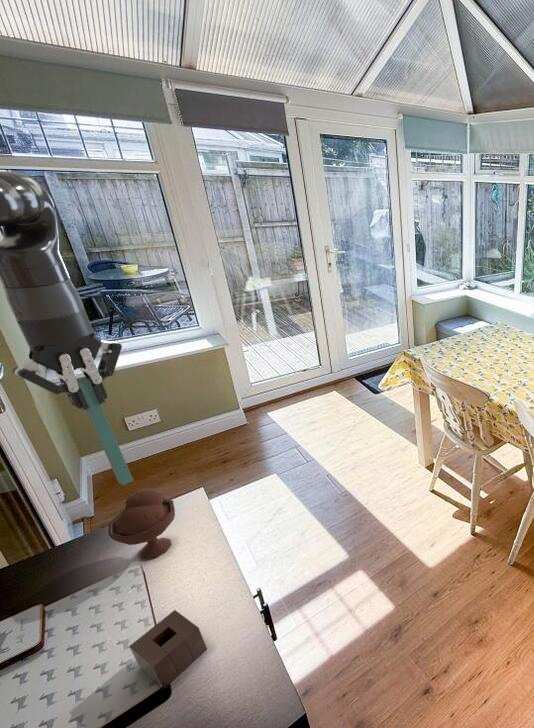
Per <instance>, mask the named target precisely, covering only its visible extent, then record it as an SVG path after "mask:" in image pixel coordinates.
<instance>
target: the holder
mask: <svg viewBox="0 0 534 728" xmlns="http://www.w3.org/2000/svg"><path fill="white" fill-rule="evenodd" d="M128 647H129V649H130V651H131V653H132V655H133V657H134V658H135V660H136V663H137V664H138V666H139V668H140V669H141V671H143V672H144V673H145V674H146V675H147V676H148V677H150V678H151V679H152V680H153V681H154V682H155V683H157V684H158V685H159V686H160V687H161V688H162V689H163V690H164V689H166V688H167V687H168V686H169V685H170V684H171V683H172V682H173V681H175V680H176V679H177V678H178V677H179V676H180V675H181V674H182V673H184V671H186V669H187V668H189V667H190V666H191V665H192V664H193V663H194V662H195V661H196V660H197V659H199V657H200V656H202V655H203V654H204V653H205V652H206V651H207V650H208V647H207V645H206V642H205V640H204V637H203V635H202V632H201V630H200V627H199V626H197V625H196V624H195V623H193V621H190V619H188V618H187V617H185V616H184V615H182V614H181V613H180V612H178V611H177V610H176V609H174V610H173V611H171V612H170V613H169V614H167V615H166V616H165V617H163V619H161V620H160V621H159V622H158V623H156V624H155V625H154V626H152V627H151V628H150V629H149V630H148V631H146V632H145V633H144V634H142V635H141V636H140V637H139V638H138V639H136V640H135V641H133V642H132V643H131V644H130V645H129V646H128ZM161 685H162V686H161Z"/></svg>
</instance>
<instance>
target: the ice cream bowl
mask: <svg viewBox="0 0 534 728" xmlns="http://www.w3.org/2000/svg"><path fill="white" fill-rule="evenodd" d="M124 505H125V507H124V508H123V509H122V510H121V512H119V513H118V514H117V515H116V516H115V517H114V518H113V519H112V520H111V521H110V522H109V523H108V533H107V534H108V536H109V538H110V539H112V541H115V542H117V543H121V544H125V545H128V546H136V545H140V544H144V543H146V544H145V545H144V546H143V547H142V548H141V549H140V551H139V555H140V559H141V560H144V561H145V560H146V561H149V560H152V559H157V558H159V557H160V556H162V555H164V554H166V553H167V552H168V550H169V549H170V548H171V546H172V540H171V539H170V538H167V537H163V536H162V537H159V536H161V535H162V534H163V533H164V532H165V531H166V530H167V529H168V528H169V526H170V525H171V524H172V522H173V521H174V519H175V516H176V510H175V504H174V500H172V499H168V498H165V495H164V494H163V493H162V492H161V491H160V490H159V489H156V488H142V489H139V490H136V491H134V492H133V493H131V494H130V496H128V497H127V499H126V500H125V502H124ZM158 537H159V538H158Z"/></svg>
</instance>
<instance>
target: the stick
mask: <svg viewBox="0 0 534 728" xmlns="http://www.w3.org/2000/svg"><path fill="white" fill-rule="evenodd" d="M76 381H77V384H78V387H79V389H80V390H82V392H83V394H84V396H85V398H86V401H87V403H88V405H89V409H86V410H85V411H86V414H87V416H88V418H89V420H90V423H91V425H92V427H93V430H94V431H95V433H96V436H97V438H98V441H99V443H100V445H101V447H102V449H103V451H104V454H105V456H106V459H107V460H108V463H109V464H110V467H111V470H112V471H113V474H114V476H115V478H116V480H117V482H118V484H119V485H121V486H124V487H125V486H126V485H128V484H130V483H131V482H133V481H134V478H133V476H132V474H131V471H130V469H129V466H128V464H127V463H126V460H125V458H124V456H123V453H122V451H121V448H120V446H119V443H118V441H117V439H116V437H115V435H114V432H113V430H112V427H111V425H110V423H109V420H108V418H107V416H106V413H105V411H104V409H103V406H102V404H100V403H99V400H98V398H97V396H96V393H95V391H94V389H93V386H92V383H91V381H90V379H89V378H86V377H84V376H83V377H79V378H76Z"/></svg>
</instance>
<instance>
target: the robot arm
mask: <svg viewBox="0 0 534 728" xmlns="http://www.w3.org/2000/svg"><path fill="white" fill-rule="evenodd" d="M0 228H2V239H1V241H0V284H1V286H2V288H3V291H4V294H5V299H6V302H7V304H8V306H9V308H10V311H11V312H12V315H13V316H14V319H15V321H16V323H17V325H18V327H19V329H20V331H21V333H22V335H23V337H24V339H25V342H26V344H27V346H28V348H29V353H28V358H29V360H27V361H26V362H25V363H24V364H22V365H21V366H16V367H13V369H12V373H13V375H16V376H18V377H20V378H21V379H24V380H26V381H28V382H30V383H32V384H34V385H36V386H38V387H39V388H42V389H44V390H46V391H48V392H51V393H52V394H55V395H60V394H62V393H65V394H66V396H67V398H68V399H69V402H70V405H71V406H73V407H74V408H76V409H79V410H82V411H86V409H89V405H88V403H87V401H86V398H85V396H84V394H83V392H82V390H80V389H79V387H78V384H77V381H76V379H77V375H76V372H75V371H76V370H78V369H79V371H80V372H81V373H82V375H83V377H86V378H89V379H90V381H91V383H92V386H93V389H94V391H95V393H96V396H97V398H98V400H99V403H100V404H101V405H102V404H105V403H106V399H108V393H107V391H106V389H105V386H104V383H103V381H104V380H105V379H106V378H108V377H112V376H113V375H114V373H115V371H116V370H115V369H116V367H117V363H118V361H119V358H120V354H121V352H122V348H123V346H122V343H119V342H117V341H113V340H108V341H105V340H102V339H101V338H100V337H98V336H97V335H96V333H95V332H94V329H93V326H92V324H91V321H90V318H89V316H88V314H87V311H86V309H85V306H84V301H83V299H82V298H81V297H80V295H79V292H78V290H77V289H76V287H75V285H74V284H73V282H72V280H71V278H70V276H69V272H68V271H67V267H66V265H65V263H64V261H63V258H62V256H61V254H60V250H59V230H58V220H57V212H56V209H55V205H54V202H53V200H52V198H51V196H50V194H49V193H48V192H47V190H46V189H45V188H44V187H43V186H42V185H41V184H40V183H39V182H38V181H37V180H35V179H34V178H33V177H31V176H28V175H27V174H24V173H21V172H16V171H7V170H4V171H3V170H2V171H1V170H0ZM99 352H101V353H102V354H101V357H100V360H99V363H98V366H97V364H96V361H95V360H96V358H97V356H98V353H99ZM39 365H40V366H42V367H45V368H47V369H49V370H51V371H53V372H54V374H55V376H56V377H57V379H58V381H59V382H58V383H54V382H53V381H51V380H48V379H47V378H45V377H42V376H40V375H41V373H42V371H41V369H40V368H39Z"/></svg>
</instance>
